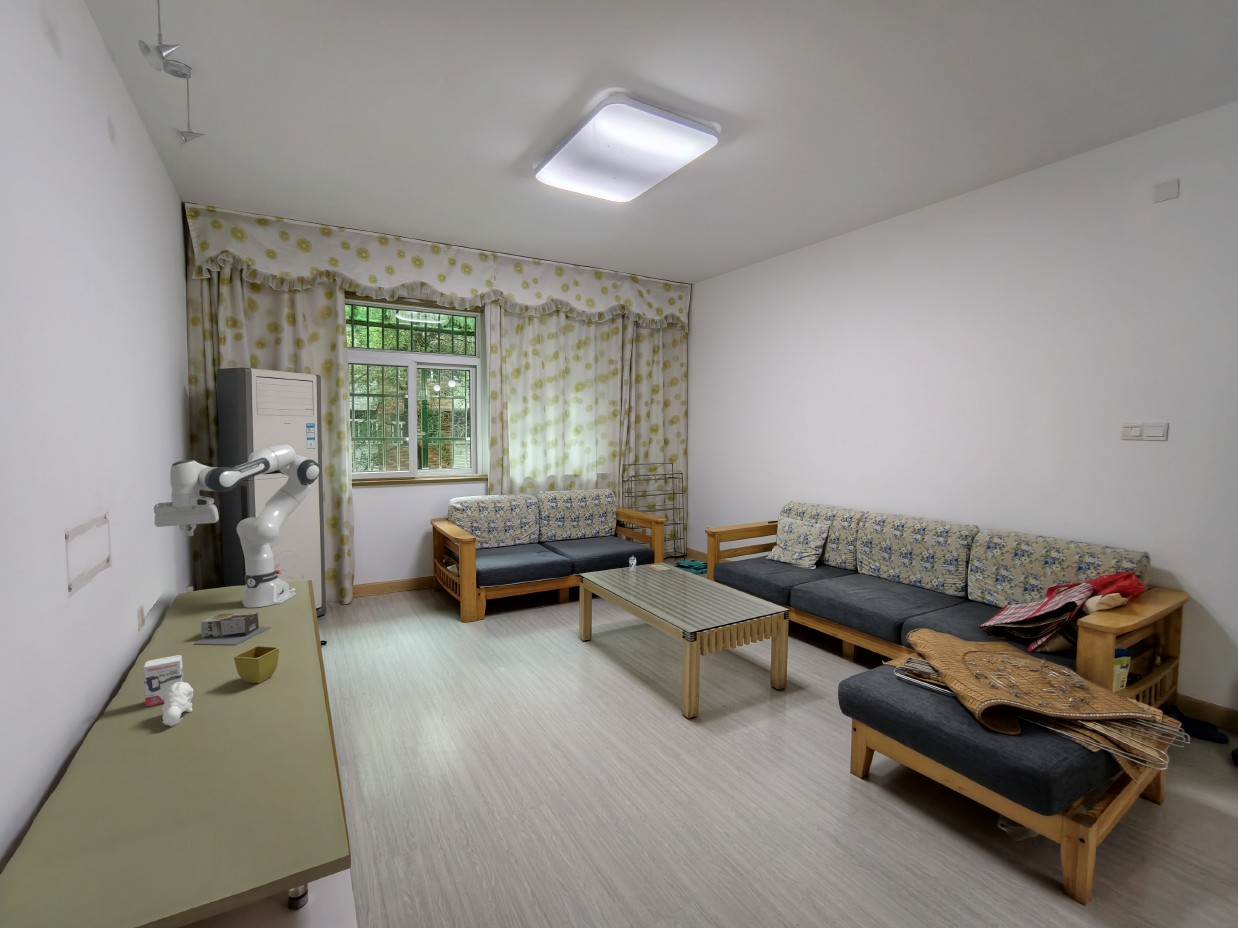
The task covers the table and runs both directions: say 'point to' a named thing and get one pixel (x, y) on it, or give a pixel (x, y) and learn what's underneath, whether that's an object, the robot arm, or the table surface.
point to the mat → (230, 638)
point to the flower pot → (257, 663)
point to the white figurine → (176, 702)
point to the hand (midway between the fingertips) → (188, 535)
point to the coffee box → (229, 625)
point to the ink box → (161, 677)
